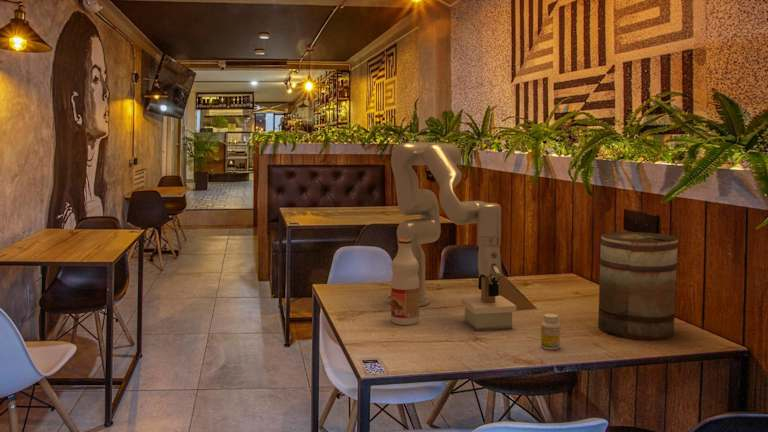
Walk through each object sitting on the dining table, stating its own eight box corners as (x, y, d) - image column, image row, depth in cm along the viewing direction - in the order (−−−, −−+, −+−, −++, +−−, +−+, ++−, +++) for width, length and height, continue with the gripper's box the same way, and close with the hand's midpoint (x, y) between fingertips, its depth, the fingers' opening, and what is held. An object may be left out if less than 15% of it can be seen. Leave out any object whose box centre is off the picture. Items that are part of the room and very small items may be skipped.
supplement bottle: (554, 351, 184) (555, 318, 183) (537, 347, 187) (538, 315, 186) (562, 346, 188) (563, 314, 187) (546, 343, 191) (546, 311, 190)
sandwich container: (538, 309, 231) (539, 268, 229) (498, 312, 228) (499, 270, 226) (528, 303, 239) (529, 264, 237) (489, 306, 236) (490, 266, 234)
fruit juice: (419, 325, 211) (419, 241, 208) (391, 325, 211) (390, 241, 208) (418, 317, 220) (418, 237, 217) (391, 318, 220) (390, 237, 217)
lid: (474, 314, 203) (474, 283, 201) (461, 303, 216) (461, 274, 215) (516, 311, 205) (516, 281, 204) (500, 301, 219) (501, 272, 218)
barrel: (679, 326, 208) (683, 235, 204) (667, 345, 189) (671, 244, 186) (607, 316, 220) (610, 230, 217) (589, 333, 201) (592, 238, 198)
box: (476, 330, 204) (476, 309, 204) (464, 320, 216) (465, 300, 215) (511, 328, 207) (512, 307, 206) (498, 318, 218) (499, 298, 217)
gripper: (509, 244, 200) (508, 298, 202) (490, 236, 217) (490, 286, 219) (486, 245, 199) (486, 299, 201) (469, 237, 216) (469, 287, 218)
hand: (488, 292), depth 210 cm, fingers open, 9 cm apart
